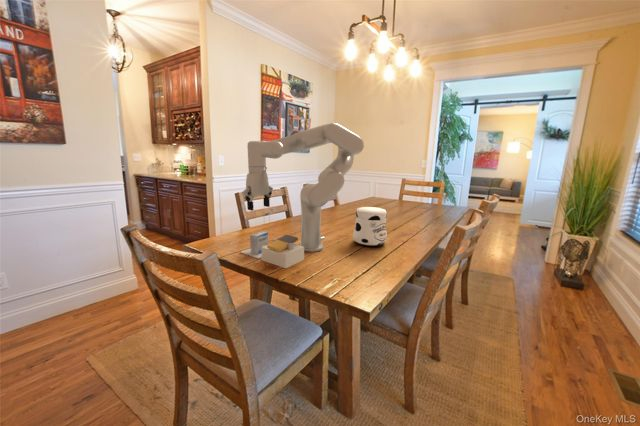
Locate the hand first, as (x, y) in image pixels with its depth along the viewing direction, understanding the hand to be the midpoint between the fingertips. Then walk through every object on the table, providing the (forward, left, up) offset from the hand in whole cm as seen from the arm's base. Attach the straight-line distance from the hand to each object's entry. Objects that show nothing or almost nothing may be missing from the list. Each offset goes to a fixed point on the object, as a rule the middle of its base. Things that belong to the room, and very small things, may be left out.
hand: (258, 208), depth 127 cm
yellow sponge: (0, +15, -14) cm, 21 cm away
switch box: (0, +15, -21) cm, 26 cm away
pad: (0, 0, -21) cm, 21 cm away
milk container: (-45, +35, -21) cm, 61 cm away
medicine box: (0, 0, -21) cm, 21 cm away
